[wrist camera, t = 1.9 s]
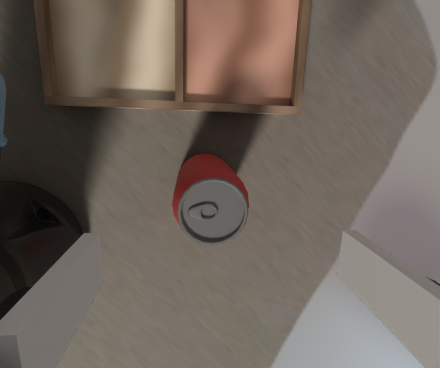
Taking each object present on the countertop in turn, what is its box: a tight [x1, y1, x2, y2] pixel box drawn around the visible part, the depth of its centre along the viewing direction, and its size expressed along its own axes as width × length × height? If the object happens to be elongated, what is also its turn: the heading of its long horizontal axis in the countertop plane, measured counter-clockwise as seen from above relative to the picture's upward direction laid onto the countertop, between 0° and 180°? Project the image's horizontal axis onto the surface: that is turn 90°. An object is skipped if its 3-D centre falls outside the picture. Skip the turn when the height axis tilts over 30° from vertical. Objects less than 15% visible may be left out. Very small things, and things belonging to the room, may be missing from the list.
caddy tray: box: [33, 0, 311, 115], centre depth 27 cm, size 26×14×3 cm, turn 88°
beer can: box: [172, 153, 249, 245], centre depth 26 cm, size 7×7×12 cm
